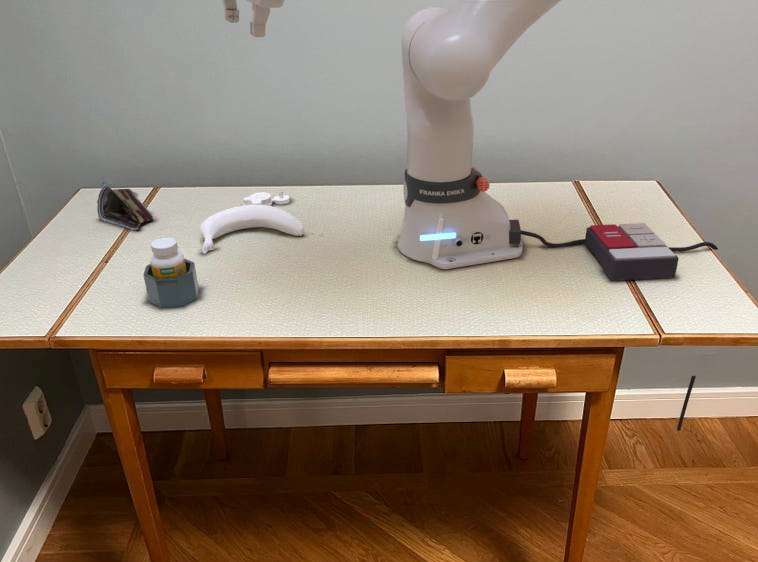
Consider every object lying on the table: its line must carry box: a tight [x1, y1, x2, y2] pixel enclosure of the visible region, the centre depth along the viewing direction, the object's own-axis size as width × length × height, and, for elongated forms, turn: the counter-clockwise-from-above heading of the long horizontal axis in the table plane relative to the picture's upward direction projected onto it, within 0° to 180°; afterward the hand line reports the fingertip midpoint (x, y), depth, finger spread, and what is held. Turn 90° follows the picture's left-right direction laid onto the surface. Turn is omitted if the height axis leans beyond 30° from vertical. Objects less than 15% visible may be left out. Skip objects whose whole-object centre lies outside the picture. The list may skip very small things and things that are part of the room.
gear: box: [233, 191, 291, 206], centre depth 153 cm, size 9×9×2 cm
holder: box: [143, 257, 200, 309], centre depth 122 cm, size 8×8×5 cm
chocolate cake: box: [96, 181, 154, 231], centre depth 149 cm, size 10×7×12 cm
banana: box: [199, 205, 304, 254], centre depth 139 cm, size 5×19×15 cm
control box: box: [584, 222, 680, 281], centre depth 129 cm, size 11×4×15 cm
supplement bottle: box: [149, 237, 187, 279], centre depth 120 cm, size 5×5×10 cm
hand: (244, 28), depth 111 cm, fingers open, 8 cm apart
